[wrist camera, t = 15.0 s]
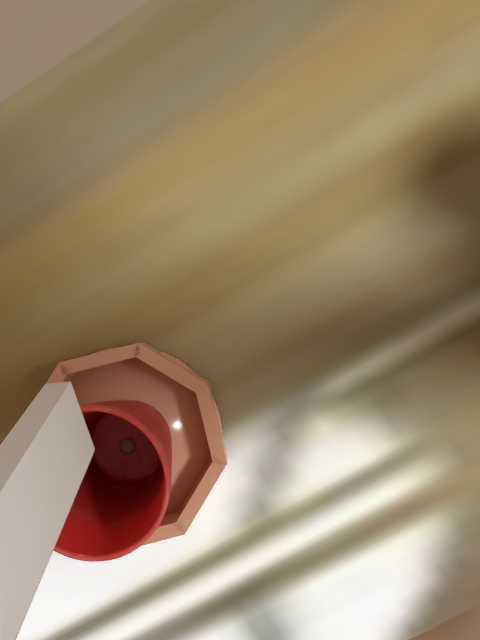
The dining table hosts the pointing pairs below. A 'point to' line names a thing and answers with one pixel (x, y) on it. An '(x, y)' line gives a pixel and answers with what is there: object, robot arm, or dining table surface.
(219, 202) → the dining table surface
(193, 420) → the terracotta saucer
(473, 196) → the dining table surface
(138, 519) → the flower pot
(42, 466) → the robot arm
